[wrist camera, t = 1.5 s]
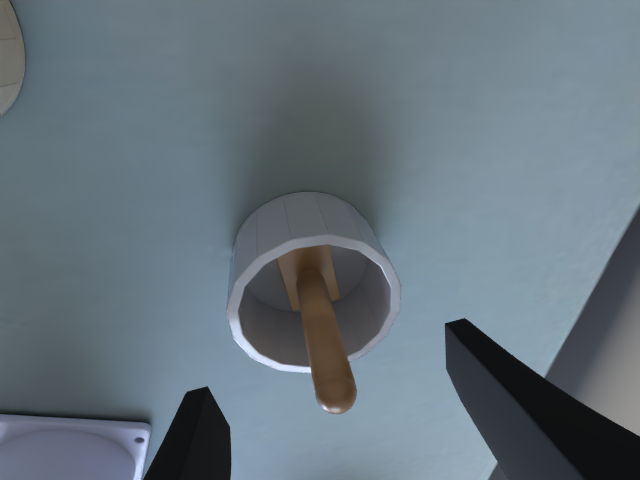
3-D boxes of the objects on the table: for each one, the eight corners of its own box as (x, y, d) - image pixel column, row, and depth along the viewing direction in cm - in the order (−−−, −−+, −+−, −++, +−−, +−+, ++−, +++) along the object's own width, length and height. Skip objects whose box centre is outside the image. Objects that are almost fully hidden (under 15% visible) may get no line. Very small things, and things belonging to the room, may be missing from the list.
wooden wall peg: (336, 284, 18) (384, 432, 11) (290, 296, 17) (313, 452, 11) (323, 226, 16) (371, 360, 10) (272, 238, 16) (287, 382, 9)
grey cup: (344, 319, 19) (363, 379, 16) (218, 300, 18) (211, 363, 14) (394, 210, 17) (429, 256, 13) (252, 174, 15) (252, 216, 12)
